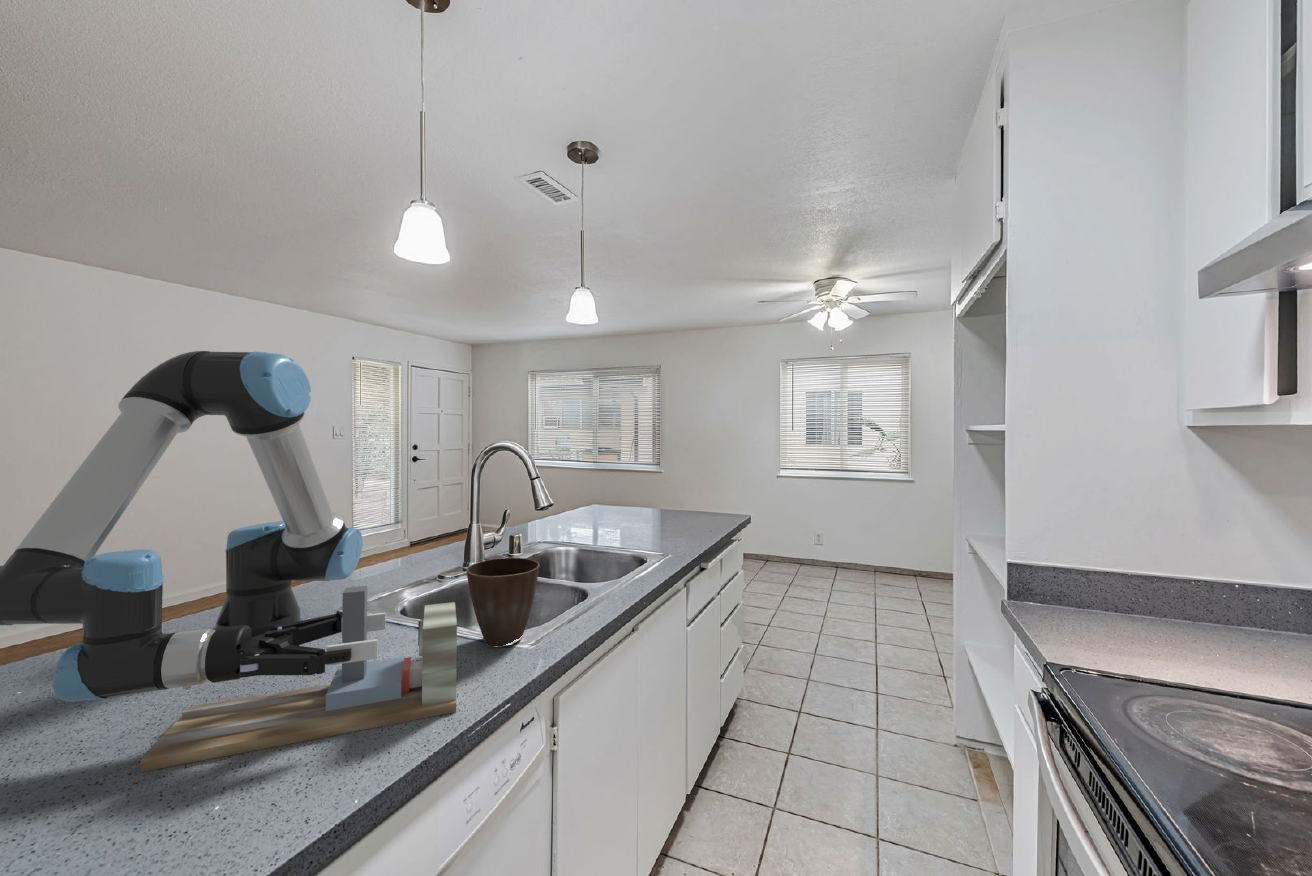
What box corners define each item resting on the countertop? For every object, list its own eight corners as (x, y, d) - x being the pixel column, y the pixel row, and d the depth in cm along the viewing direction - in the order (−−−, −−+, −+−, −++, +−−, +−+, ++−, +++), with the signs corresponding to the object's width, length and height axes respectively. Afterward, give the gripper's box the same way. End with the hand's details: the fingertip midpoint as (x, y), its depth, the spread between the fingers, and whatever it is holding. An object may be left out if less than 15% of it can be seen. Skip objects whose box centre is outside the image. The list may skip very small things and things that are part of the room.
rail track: (189, 716, 78) (190, 629, 78) (454, 673, 93) (454, 600, 93) (140, 772, 65) (141, 668, 65) (456, 712, 80) (457, 627, 80)
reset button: (404, 681, 86) (404, 658, 86) (448, 674, 88) (448, 651, 88) (402, 695, 81) (402, 670, 81) (448, 687, 84) (449, 663, 84)
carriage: (338, 680, 84) (339, 582, 84) (405, 670, 88) (406, 576, 88) (325, 711, 75) (326, 601, 75) (400, 698, 79) (401, 593, 79)
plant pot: (492, 662, 97) (493, 580, 97) (451, 642, 107) (452, 567, 107) (552, 639, 109) (553, 565, 109) (511, 622, 118) (512, 554, 118)
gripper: (242, 648, 84) (388, 630, 93) (172, 724, 62) (372, 691, 71) (242, 604, 84) (388, 589, 93) (172, 664, 62) (372, 638, 71)
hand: (381, 633), depth 82 cm, fingers open, 11 cm apart
